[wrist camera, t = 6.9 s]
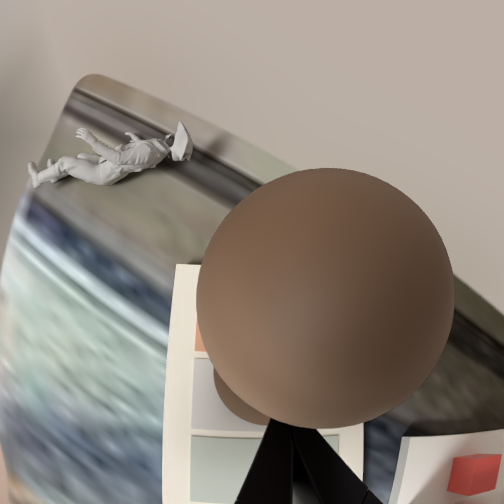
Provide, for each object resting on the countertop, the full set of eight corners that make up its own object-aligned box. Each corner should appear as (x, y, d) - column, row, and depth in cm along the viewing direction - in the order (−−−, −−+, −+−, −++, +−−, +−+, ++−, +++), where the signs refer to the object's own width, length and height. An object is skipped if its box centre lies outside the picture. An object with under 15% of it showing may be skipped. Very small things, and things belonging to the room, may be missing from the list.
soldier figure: (69, 156, 24) (189, 97, 22) (86, 206, 26) (209, 155, 24) (11, 166, 17) (153, 80, 15) (31, 229, 18) (180, 160, 16)
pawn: (318, 422, 14) (552, 424, 2) (213, 423, 14) (98, 483, 2) (316, 325, 16) (466, 120, 4) (217, 324, 16) (169, 85, 4)
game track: (341, 614, 8) (346, 621, 7) (174, 617, 8) (171, 626, 7) (347, 276, 19) (353, 268, 18) (179, 271, 19) (176, 263, 18)
